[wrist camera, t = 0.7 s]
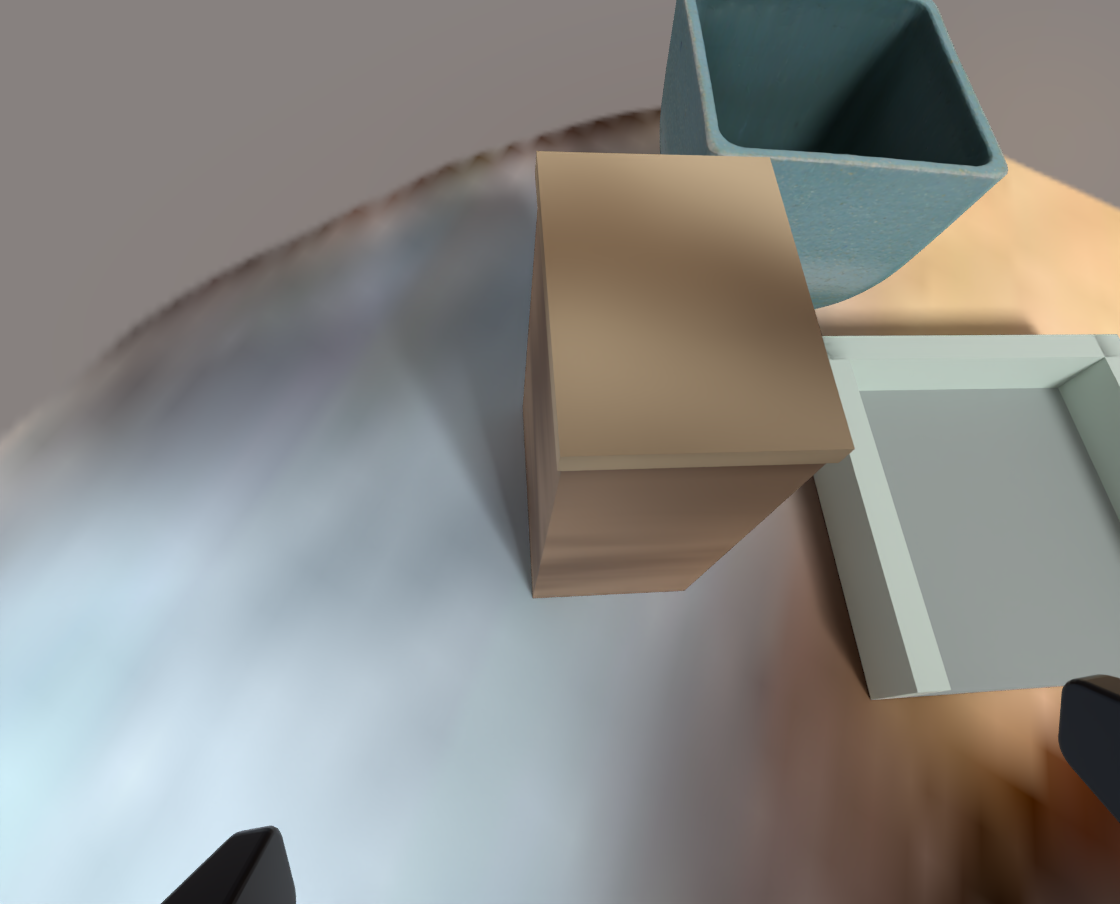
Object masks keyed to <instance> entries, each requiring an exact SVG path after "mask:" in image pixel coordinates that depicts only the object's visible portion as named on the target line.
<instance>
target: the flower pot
mask: <svg viewBox="0 0 1120 904" xmlns="http://www.w3.org/2000/svg"><path fill="white" fill-rule="evenodd" d="M660 154H664V155H703V156H742V157H770V160H771V163H772V167H773V170H774V173H775V177H776V180H777V184H778V187H779V191H780V194H781V197H782V201H783V204H784V208H785V211H786V215H787V218H788V221H789V225H790V228H791V232H792V235H793V238H794V242H795V245H796V249H797V252H798V256H799V259H800V262H801V266H802V269H803V273H804V276H805V280H806V283H807V286H808V290H809V293H810V297H811V300H812V304H813V307H814V309H817V308H821V307H825V306H829V305H832V304H835V303H838V302H841V301H844V300H846V299H849V298H851V297H853V296H856V295H858V294H860V293H862V292H864V291H866V290H868V289H870V288H871V287H873V286H875V285H877V284H878V283H880V282H882V281H883V280H885V279H886V278H888V277H889V276H890V275H892V274H893V273H895V272H896V271H897V270H899V269H900V268H901V267H902V266H904V265H905V264H906V263H907V262H908V261H909V260H911V259H912V258H913V257H914V256H915V255H916V254H918V253H919V252H920V251H921V250H922V249H923V248H925V247H926V246H927V245H928V244H929V243H930V242H931V241H933V240H934V239H935V238H936V237H937V236H938V235H939V234H941V233H942V232H943V231H944V230H945V229H946V228H947V227H948V226H950V225H951V224H952V223H953V222H954V221H955V220H956V219H957V218H958V217H960V216H961V215H962V214H963V213H964V212H965V211H966V210H967V209H968V208H970V207H971V206H972V205H973V204H974V203H975V202H976V201H977V200H978V199H980V198H981V197H982V196H983V195H984V194H985V193H986V192H987V191H988V190H989V189H991V188H992V187H993V186H994V185H995V184H996V183H997V182H998V181H1000V180H1001V179H1002V178H1003V177H1004V176H1005V175H1006V174H1007V172H1008V167H1007V164H1006V161H1005V159H1004V156H1003V153H1002V151H1001V148H1000V146H999V144H998V142H997V140H996V137H995V135H994V134H993V131H992V128H991V127H990V124H989V122H988V120H987V119H986V116H985V114H984V112H983V110H982V107H981V106H980V103H979V101H978V99H977V97H976V95H975V92H974V90H973V87H972V85H971V84H970V82H969V78H968V76H967V74H966V72H965V71H964V69H963V67H962V65H961V62H960V60H959V58H958V56H957V54H956V51H955V49H954V45H953V43H952V42H951V39H950V37H949V35H948V31H947V29H946V27H945V25H944V22H943V19H942V17H941V14H940V12H939V10H938V7H937V6H936V4H935V3H934V2H933V1H932V0H677V1H676V8H675V14H674V21H673V27H672V34H671V41H670V48H669V54H668V61H667V67H666V74H665V82H664V89H663V97H662V105H661V116H660Z"/></svg>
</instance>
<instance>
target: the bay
mask: <svg viewBox="0 0 1120 904" xmlns="http://www.w3.org/2000/svg"><path fill="white" fill-rule="evenodd" d="M822 338H823V341H824V345H825V348H826V351H827V355H828V358H829V362H830V365H831V369H832V372H833V375H834V379H835V382H836V386H837V389H838V392H839V396H840V399H841V403H842V406H843V410H844V413H845V416H846V420H847V423H848V427H849V430H850V434H851V437H852V440H853V444H854V447H855V449H854V450H853V451H852V452H851V453H850V454H849V455H847V456H846V457H845V458H844V459H843V460H842V461H840V462H839V463H826V464H825V465H824V466H823V467H822V468H821V469H820V470H818V471H817V472H816V473H815V474H814V475H813V476H814V480H815V484H816V488H817V491H818V495H819V499H820V503H821V507H822V511H823V515H824V519H825V523H826V526H827V530H828V534H829V538H830V542H831V546H832V550H833V554H834V558H835V561H836V565H837V569H838V573H839V577H840V581H841V585H842V589H843V593H844V596H845V600H846V604H847V608H848V612H849V616H850V620H851V624H852V628H853V631H854V635H855V639H856V643H857V647H858V651H859V655H860V659H861V663H862V666H863V670H864V674H865V678H866V682H867V686H868V690H869V694H870V698H871V700H877V699H891V698H905V697H919V696H932V695H946V694H960V693H974V692H988V691H1002V690H1016V689H1030V688H1044V687H1058V686H1064V685H1065V684H1066V682H1068V681H1069V680H1071V679H1075V678H1080V677H1086V676H1091V675H1097V674H1104V675H1110V676H1114V677H1118V678H1120V339H1119V337H1118V335H1117V334H1102V335H923V336H822Z"/></svg>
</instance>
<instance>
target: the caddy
mask: <svg viewBox="0 0 1120 904" xmlns="http://www.w3.org/2000/svg"><path fill="white" fill-rule="evenodd" d="M535 180H536V193H537V206H538V209H537V222H536V236H535V249H534V263H533V276H532V290H531V303H530V316H529V330H528V343H527V357H526V370H525V384H524V397H523V422H524V442H525V461H526V480H527V499H528V519H529V538H530V557H531V576H532V595H533V598H549V597H569V596H588V595H608V594H628V593H648V592H668V591H684V590H686V589H687V588H688V587H689V586H690V585H691V584H692V583H693V582H695V581H696V580H697V579H698V578H699V577H700V576H701V575H702V574H703V573H705V572H706V571H707V570H708V569H709V568H710V567H711V566H712V565H713V564H715V563H716V562H717V561H718V560H719V559H720V558H721V557H722V556H724V555H725V554H726V553H727V552H728V551H729V550H730V549H731V548H732V547H734V546H735V545H736V544H737V543H738V542H739V541H740V540H741V539H743V538H744V537H745V536H746V535H747V534H748V533H749V532H750V531H751V530H753V529H754V528H755V527H756V526H757V525H758V524H759V523H760V522H762V521H763V520H764V519H765V518H766V517H767V516H768V515H769V514H770V513H772V512H773V511H774V510H775V509H776V508H777V507H778V506H779V505H781V504H782V503H783V502H784V501H785V500H786V499H787V498H788V497H789V496H791V495H792V494H793V493H794V492H795V491H796V490H797V489H798V488H799V487H801V486H802V485H803V484H804V483H805V482H806V481H807V480H808V479H810V478H811V477H812V476H813V475H814V474H815V473H816V472H817V471H818V470H820V469H821V468H822V467H823V466H824V465H825V464H826V463H839V462H840V461H842V460H843V459H844V458H845V457H846V456H847V455H849V454H850V453H851V452H852V451H853V450H854V449H855V447H854V444H853V440H852V437H851V434H850V430H849V427H848V423H847V420H846V416H845V413H844V410H843V406H842V403H841V399H840V396H839V392H838V389H837V386H836V382H835V379H834V375H833V372H832V369H831V365H830V362H829V358H828V355H827V351H826V348H825V345H824V341H823V338H822V334H821V331H820V327H819V324H818V321H817V317H816V314H815V310H814V307H813V304H812V300H811V297H810V293H809V290H808V286H807V283H806V280H805V276H804V273H803V269H802V266H801V262H800V259H799V256H798V252H797V249H796V245H795V242H794V238H793V235H792V232H791V228H790V225H789V221H788V218H787V215H786V211H785V208H784V204H783V201H782V197H781V194H780V191H779V187H778V184H777V180H776V177H775V173H774V170H773V167H772V163H771V160H770V157H742V156H703V155H664V154H626V153H587V152H548V151H537V153H536V168H535Z"/></svg>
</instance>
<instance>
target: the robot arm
mask: <svg viewBox="0 0 1120 904" xmlns="http://www.w3.org/2000/svg"><path fill="white" fill-rule="evenodd" d="M1058 741H1059V746H1060V749H1061V752H1062V754H1063V756H1064V758H1065V759H1066V761H1067V762H1068V764H1069V765H1070V766H1071V767H1072V768H1073V770H1074V771H1075V772H1076V773H1077V774H1078V775H1079V777H1080V778H1081V779H1082V780H1083V781H1084V782H1085V784H1086V785H1087V786H1088V787H1089V788H1090V789H1091V790H1092V792H1093V793H1094V794H1095V795H1096V796H1097V797H1098V799H1099V800H1100V801H1101V802H1102V803H1103V804H1104V805H1105V807H1106V808H1107V809H1108V810H1109V811H1110V812H1111V814H1112V815H1113V816H1114V817H1115V818H1116V819H1117V821H1118V822H1119V823H1120V678H1118V677H1114V676H1110V675H1104V674H1097V675H1091V676H1086V677H1080V678H1075V679H1071V680H1069V681H1068V682H1066V684H1065V685H1064V687H1063V689H1062V696H1061V709H1060V722H1059V735H1058ZM161 904H296V892H295V886H294V882H293V878H292V874H291V870H290V866H289V862H288V858H287V854H286V850H285V846H284V842H283V838H282V835H281V833H280V831H279V830H278V828H276V827H274V826H266V827H260V828H255V829H249V830H244V831H240V832H237V833H235V834H233V835H232V836H231V837H230V838H229V839H227V840H226V841H225V842H224V843H223V844H222V845H221V846H220V847H219V848H218V849H217V850H216V851H215V852H214V853H213V854H212V855H211V856H210V857H209V858H208V859H207V860H206V861H205V862H204V863H203V864H201V865H200V866H199V867H198V868H197V869H196V870H195V871H194V872H193V873H192V874H191V875H190V876H189V877H188V878H187V879H186V880H185V881H184V882H183V883H182V884H181V885H180V886H179V887H178V888H177V889H176V890H175V891H173V892H172V893H171V894H170V895H169V896H168V897H167V898H166V899H165V900H164V901H163V902H162V903H161Z"/></svg>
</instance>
